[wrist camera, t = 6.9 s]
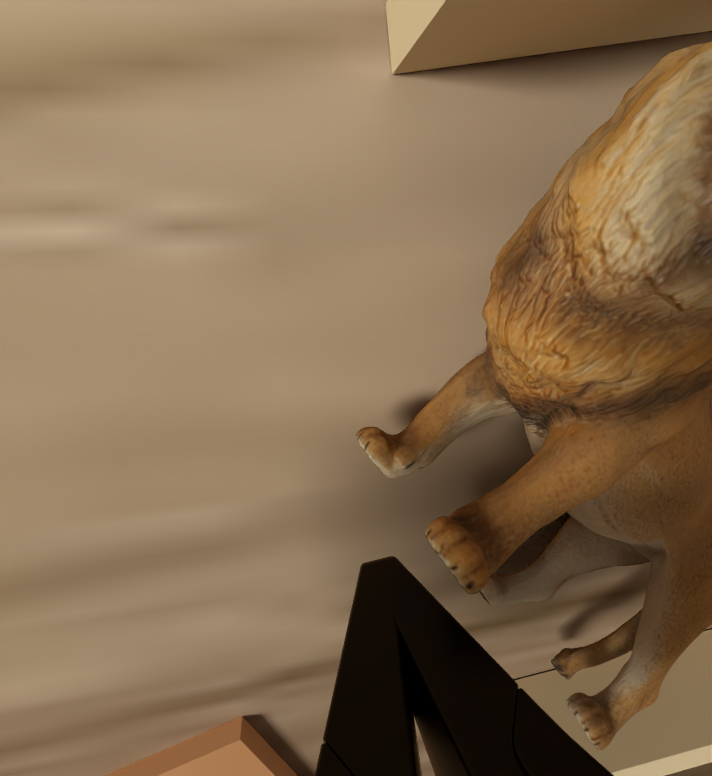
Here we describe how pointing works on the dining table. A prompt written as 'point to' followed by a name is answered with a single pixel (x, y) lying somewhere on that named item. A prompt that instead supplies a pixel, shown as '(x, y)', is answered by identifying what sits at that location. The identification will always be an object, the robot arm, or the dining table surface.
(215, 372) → the dining table surface
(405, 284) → the dining table surface
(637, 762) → the frame
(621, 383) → the lion figurine
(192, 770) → the terracotta tile
